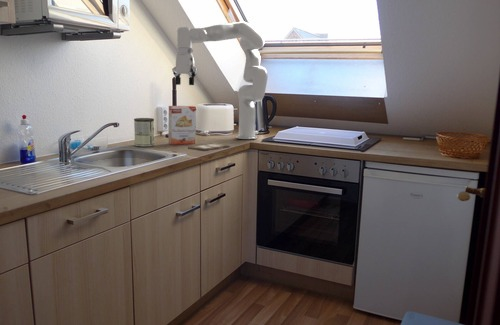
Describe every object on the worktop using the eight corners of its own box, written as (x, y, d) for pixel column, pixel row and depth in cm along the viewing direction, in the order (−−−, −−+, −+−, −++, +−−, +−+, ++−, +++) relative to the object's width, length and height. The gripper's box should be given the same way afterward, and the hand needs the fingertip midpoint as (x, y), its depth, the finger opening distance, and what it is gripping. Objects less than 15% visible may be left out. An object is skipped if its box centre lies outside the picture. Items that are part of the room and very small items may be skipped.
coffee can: (133, 144, 242) (132, 117, 239) (152, 143, 246) (152, 117, 243) (136, 146, 233) (135, 119, 230) (156, 146, 237) (155, 119, 234)
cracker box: (171, 145, 242) (171, 106, 238) (168, 143, 247) (167, 105, 243) (196, 144, 248) (196, 106, 244) (192, 142, 253) (192, 105, 250)
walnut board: (212, 144, 247) (212, 143, 247) (229, 147, 240) (229, 145, 239) (187, 148, 232) (188, 146, 232) (205, 150, 225) (205, 149, 224)
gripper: (201, 52, 234) (201, 85, 237) (177, 52, 244) (177, 84, 247) (192, 51, 228) (192, 85, 231) (167, 51, 238) (168, 84, 241)
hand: (184, 84), depth 239 cm, fingers open, 9 cm apart
